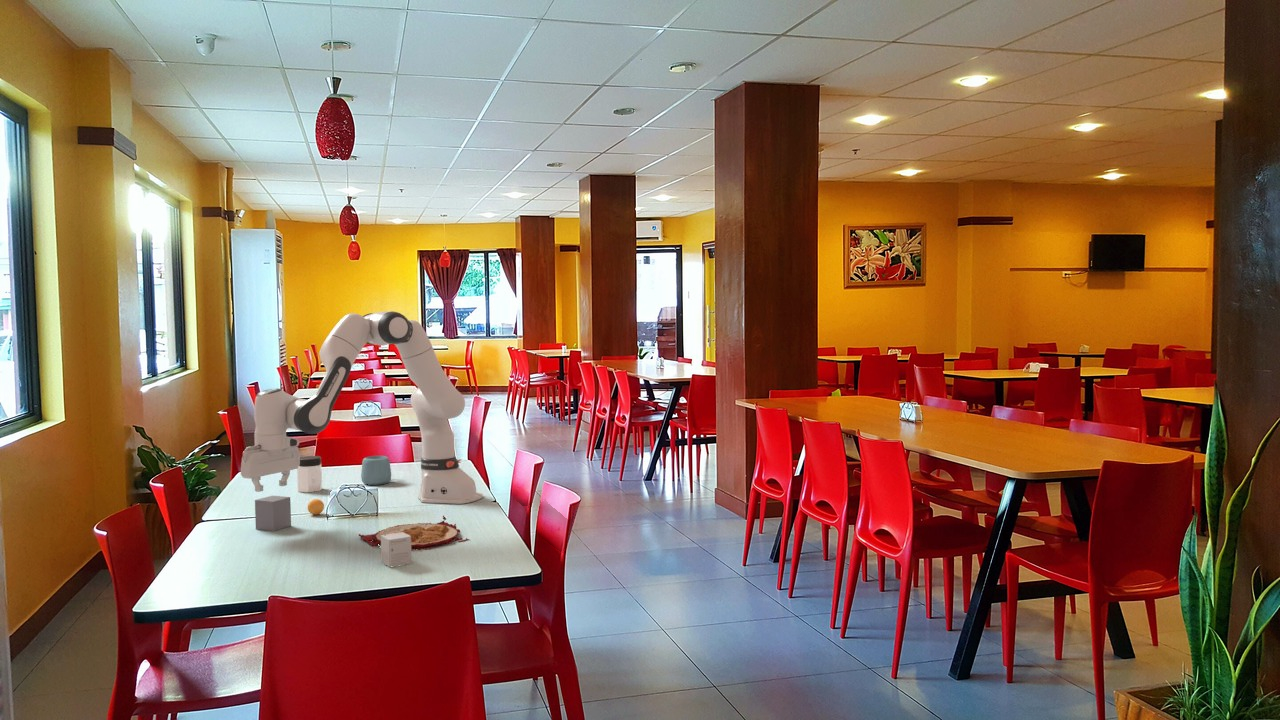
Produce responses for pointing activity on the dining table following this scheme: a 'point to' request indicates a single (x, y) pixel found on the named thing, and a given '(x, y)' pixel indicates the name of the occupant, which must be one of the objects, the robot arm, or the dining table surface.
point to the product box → (396, 549)
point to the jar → (309, 474)
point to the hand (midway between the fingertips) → (271, 488)
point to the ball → (315, 506)
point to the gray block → (273, 513)
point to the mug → (376, 470)
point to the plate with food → (420, 534)
